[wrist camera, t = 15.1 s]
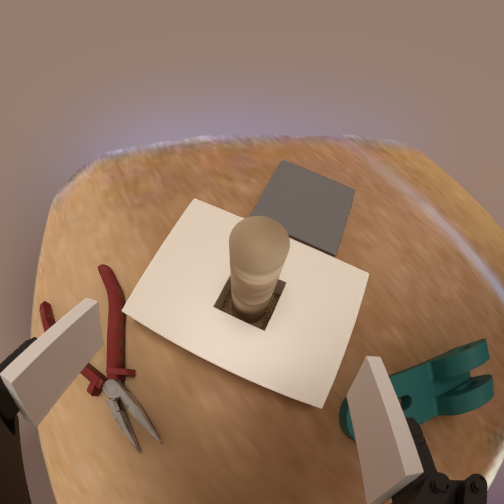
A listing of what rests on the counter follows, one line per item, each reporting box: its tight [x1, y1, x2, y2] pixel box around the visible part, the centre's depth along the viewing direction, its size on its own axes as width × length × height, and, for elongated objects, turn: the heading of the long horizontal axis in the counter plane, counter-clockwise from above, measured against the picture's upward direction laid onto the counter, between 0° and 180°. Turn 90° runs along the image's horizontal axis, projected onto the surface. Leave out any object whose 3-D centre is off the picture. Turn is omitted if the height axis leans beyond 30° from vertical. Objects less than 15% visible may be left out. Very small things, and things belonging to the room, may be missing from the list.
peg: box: [229, 216, 290, 323], centre depth 22 cm, size 4×4×14 cm
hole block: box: [122, 198, 369, 409], centre depth 27 cm, size 20×14×4 cm
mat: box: [249, 160, 355, 257], centre depth 34 cm, size 11×11×1 cm
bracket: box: [339, 339, 494, 440], centre depth 21 cm, size 18×7×8 cm, turn 98°
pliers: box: [40, 264, 162, 453], centre depth 24 cm, size 12×20×3 cm, turn 34°
